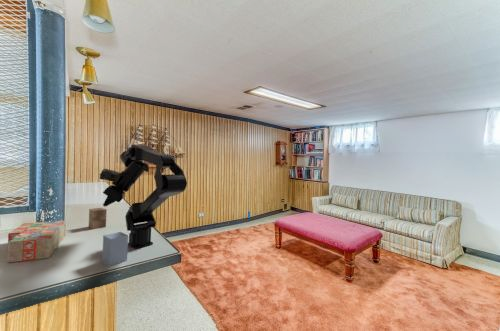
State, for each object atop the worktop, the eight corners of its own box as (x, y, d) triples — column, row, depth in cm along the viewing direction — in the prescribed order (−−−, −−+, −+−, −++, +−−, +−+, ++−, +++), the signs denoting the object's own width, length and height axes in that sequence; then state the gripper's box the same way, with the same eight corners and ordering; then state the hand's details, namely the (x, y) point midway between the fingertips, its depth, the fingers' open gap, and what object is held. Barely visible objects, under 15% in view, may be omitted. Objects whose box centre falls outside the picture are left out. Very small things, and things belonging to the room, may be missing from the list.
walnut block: (101, 224, 105) (101, 207, 105) (105, 226, 102) (106, 209, 102) (88, 226, 101) (89, 209, 101) (93, 229, 98) (93, 211, 98)
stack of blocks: (50, 238, 69) (-8, 243, 63) (49, 258, 69) (-8, 265, 63) (66, 220, 88) (23, 223, 82) (65, 236, 88) (22, 240, 82)
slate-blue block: (119, 256, 73) (120, 231, 73) (126, 260, 71) (128, 235, 70) (102, 261, 69) (103, 235, 69) (109, 266, 66) (110, 239, 66)
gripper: (118, 157, 93) (92, 187, 92) (105, 165, 76) (73, 201, 74) (141, 174, 97) (117, 202, 96) (134, 184, 79) (104, 219, 78)
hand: (104, 205), depth 86 cm, fingers closed
